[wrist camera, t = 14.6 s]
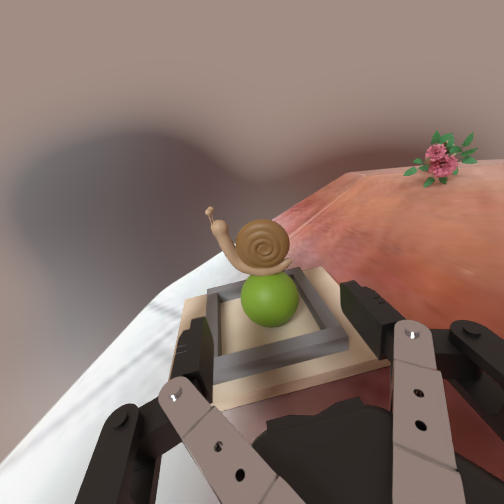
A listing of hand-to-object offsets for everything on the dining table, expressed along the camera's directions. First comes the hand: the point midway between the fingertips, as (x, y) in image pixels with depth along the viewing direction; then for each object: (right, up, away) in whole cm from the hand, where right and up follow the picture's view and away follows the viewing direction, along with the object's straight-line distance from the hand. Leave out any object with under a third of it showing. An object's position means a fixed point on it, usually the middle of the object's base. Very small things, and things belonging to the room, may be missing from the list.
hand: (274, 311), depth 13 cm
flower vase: (+47, +22, +46) cm, 69 cm away
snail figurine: (0, -3, +10) cm, 10 cm away
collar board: (0, -4, +10) cm, 11 cm away
